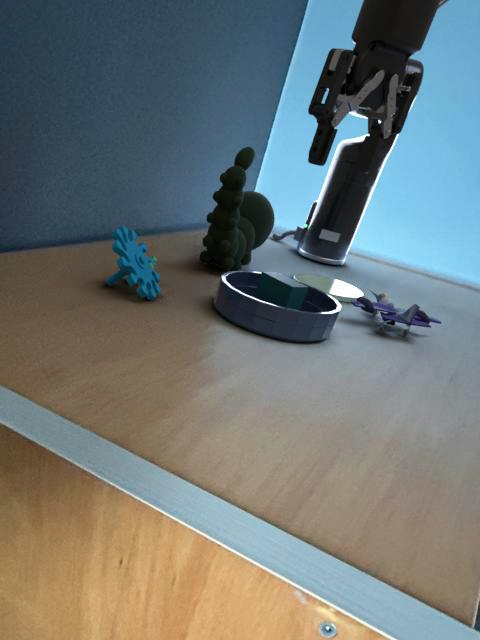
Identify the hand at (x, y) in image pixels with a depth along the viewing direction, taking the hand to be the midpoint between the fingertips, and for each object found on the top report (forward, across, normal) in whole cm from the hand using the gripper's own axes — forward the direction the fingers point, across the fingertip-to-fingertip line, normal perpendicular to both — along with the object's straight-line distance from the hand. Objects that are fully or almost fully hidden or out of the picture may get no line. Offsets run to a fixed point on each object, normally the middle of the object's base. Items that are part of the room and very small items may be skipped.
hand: (338, 168), depth 69 cm
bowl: (+18, +3, 0) cm, 19 cm away
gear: (+19, +19, -11) cm, 29 cm away
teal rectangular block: (+18, +3, 0) cm, 18 cm away
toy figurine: (+18, -9, -23) cm, 31 cm away
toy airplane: (+18, -18, +4) cm, 26 cm away
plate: (+18, -22, -11) cm, 31 cm away
